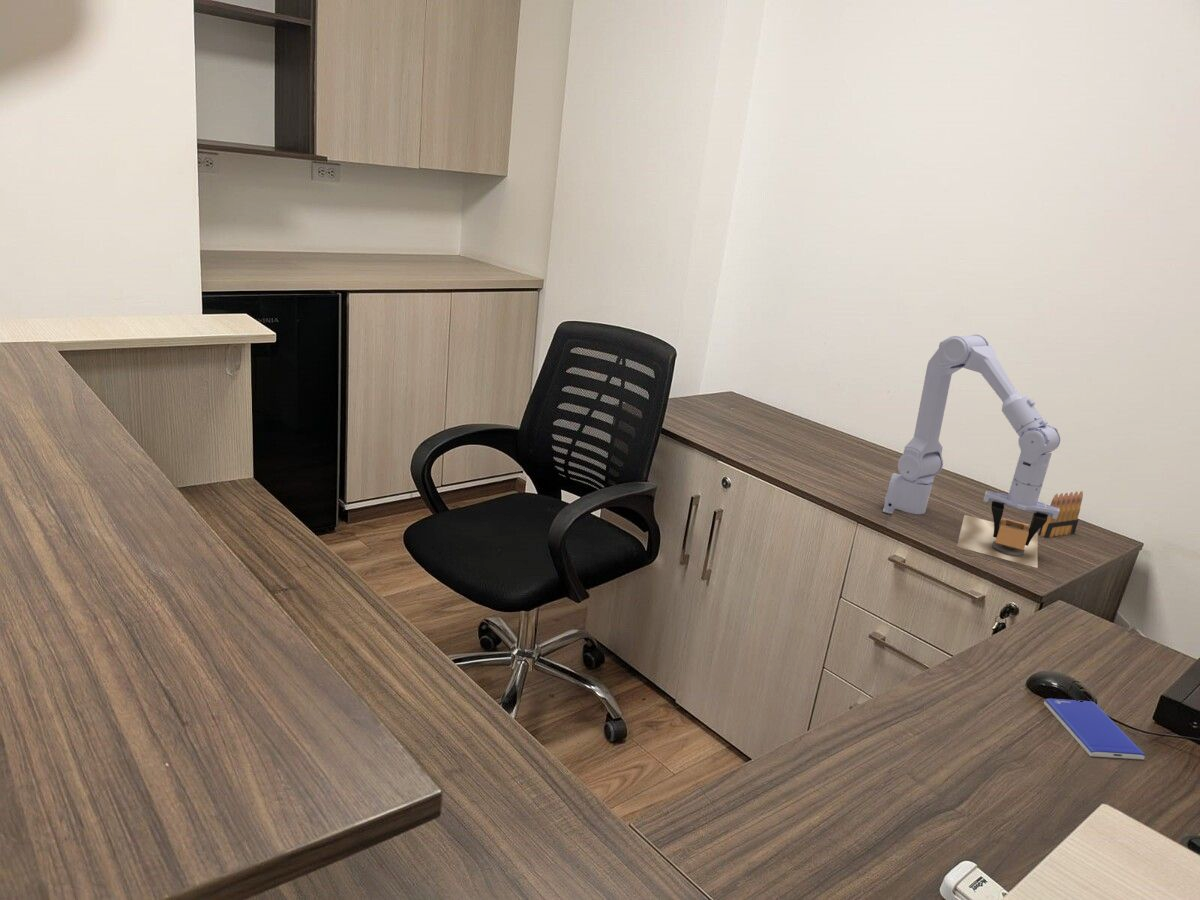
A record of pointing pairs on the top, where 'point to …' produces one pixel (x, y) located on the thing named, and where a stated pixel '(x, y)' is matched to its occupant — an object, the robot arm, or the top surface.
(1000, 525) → the collar
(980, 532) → the post board
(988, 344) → the robot arm
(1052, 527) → the ammunition clip
